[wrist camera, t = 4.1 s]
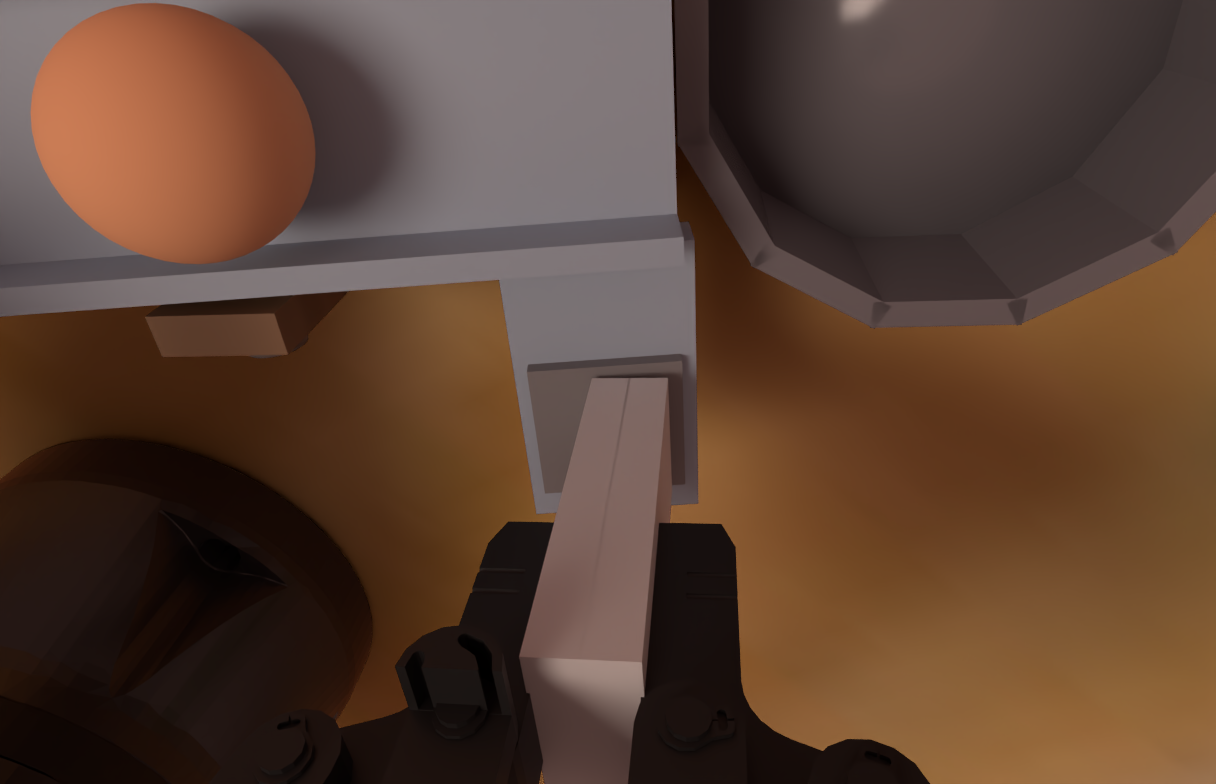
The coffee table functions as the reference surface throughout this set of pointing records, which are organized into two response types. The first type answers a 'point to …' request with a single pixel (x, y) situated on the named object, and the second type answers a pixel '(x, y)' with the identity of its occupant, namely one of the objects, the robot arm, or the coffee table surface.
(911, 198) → the dish
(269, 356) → the fulcrum
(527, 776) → the robot arm
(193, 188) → the ball
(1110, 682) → the coffee table surface
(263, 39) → the grey slab
